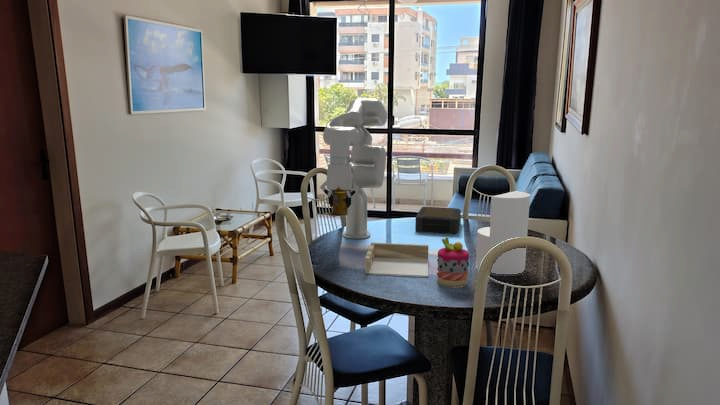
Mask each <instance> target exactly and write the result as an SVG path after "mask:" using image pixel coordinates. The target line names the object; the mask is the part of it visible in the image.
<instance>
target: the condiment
mask: <svg viewBox="0 0 720 405" xmlns="http://www.w3.org/2000/svg"><path fill="white" fill-rule="evenodd" d="M338 187H339V186H338ZM347 197H348V195H347V193H346V191H344V190H342V189H340V188H337V189H336V190H333V191H332V207H331V208H332V211H329V212H324V214H325V215H327V216H330V217H333V218H335V217H344V216H345V217H346V215H351V214H349V213H347V212H348V208H347Z"/></svg>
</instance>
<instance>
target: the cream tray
mask: <svg viewBox="0 0 720 405" xmlns="http://www.w3.org/2000/svg"><path fill="white" fill-rule="evenodd" d="M366 252H367V253H366V254H365V258H364V275H369V272H370V269H371V266H372V263H373V260H374V257H378V258H400V259H422V260H428V261H429V244H414V243H413V244H412V243H409V244H408V243H389V242H388V243H387V242H371V243H370V244H369V247H368V250H367V251H366Z"/></svg>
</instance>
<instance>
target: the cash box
mask: <svg viewBox="0 0 720 405" xmlns="http://www.w3.org/2000/svg"><path fill="white" fill-rule="evenodd" d="M461 212H462V210H461V209H460V208H455V207H439V206H437V207H435V206H422V207H421V208H420V210H419V211H418V212H417V214H416V216H415V223H414V224H415V228H414V229H415V232H417V233H425V234H440V235H441V234H442V235H457V234H458V232H459V229H460V225H462V224H461V223H462V222H461V220H462V217H461V216H462V214H461Z"/></svg>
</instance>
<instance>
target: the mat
mask: <svg viewBox="0 0 720 405" xmlns="http://www.w3.org/2000/svg"><path fill="white" fill-rule="evenodd" d="M368 275H374V276H393V277H395V276H396V277H414V278H415V277H416V278H429V259H428V260H422V259H400V258H378V257H374V260H373V263H372V266H371V269H370V272H369V274H368Z"/></svg>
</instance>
